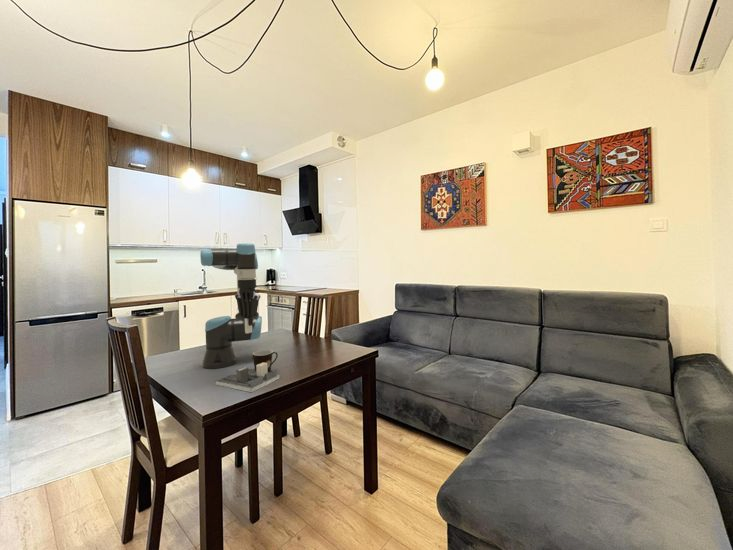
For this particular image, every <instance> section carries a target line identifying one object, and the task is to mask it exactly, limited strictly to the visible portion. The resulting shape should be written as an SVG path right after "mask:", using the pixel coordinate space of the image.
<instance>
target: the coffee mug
mask: <svg viewBox="0 0 733 550" xmlns="http://www.w3.org/2000/svg"><path fill="white" fill-rule="evenodd" d="M274 354H275V355H276V356H275V359H274V360H273V355H274ZM278 356H279V355H278V352H276V351H273V350H269V349H263V350H257V351H254V352H252V361H253V365H254V370H256V365H258V364H261V363H267V369H268V372H271V371H272V365H273V364H274V363H275V362H276V361H277V359H278Z"/></svg>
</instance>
